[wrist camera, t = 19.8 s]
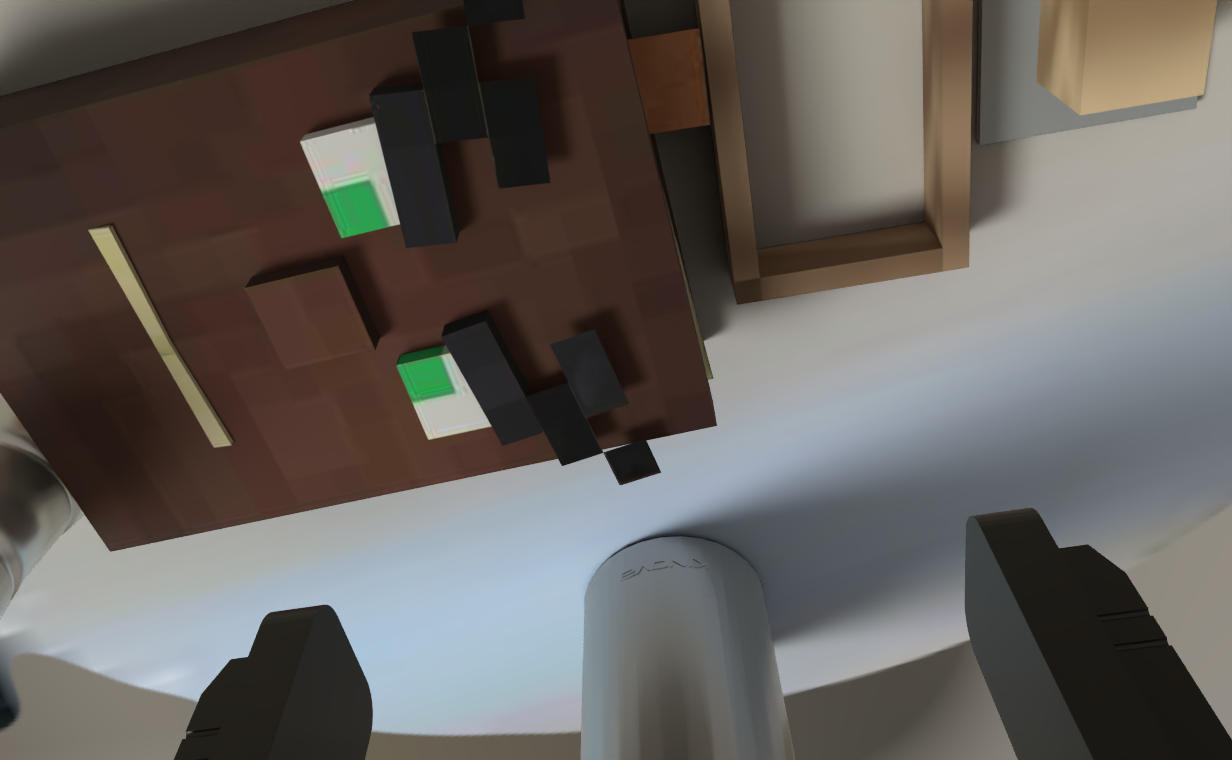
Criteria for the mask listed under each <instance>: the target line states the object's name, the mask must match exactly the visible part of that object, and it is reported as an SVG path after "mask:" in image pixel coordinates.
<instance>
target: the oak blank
mask: <svg viewBox="0 0 1232 760" xmlns="http://www.w3.org/2000/svg"><path fill="white" fill-rule="evenodd" d="M1216 6H1217V0H1041V5H1040V24H1039V42H1038V61H1037V80H1036V82H1038V83H1039V84H1040V85H1041V86H1043V87H1044V88H1045V89H1047V90H1048V91H1049V92H1051V93H1052V94H1053V95H1054V96H1056V97H1057V98H1058V99H1060V100H1061V101H1062V102H1064V103H1065V104H1066V105H1067V106H1069V107H1070V108H1071V109H1073V110H1074V111H1075V112H1076V113H1078V114H1079V115H1086V114H1092V113H1098V112H1104V111H1110V110H1116V109H1122V108H1128V107H1134V106H1140V105H1145V104H1151V103H1157V102H1163V101H1169V100H1175V99H1181V98H1187V97H1193V96H1199V95H1204V89H1205V82H1206V75H1207V68H1208V61H1209V54H1210V47H1211V40H1212V33H1213V26H1214V19H1215V12H1216Z"/></svg>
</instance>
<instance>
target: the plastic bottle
mask: <svg viewBox="0 0 1232 760" xmlns="http://www.w3.org/2000/svg"><path fill="white" fill-rule="evenodd" d="M83 515H84V513H83V512H82V510H81V509H80V507H79V506H78V504H77V503H76V501H75V500H74V499H73V497H72V496H71V494H70V493H69V491H68V490H67V489H66V487H65V486H64V484H63V483H62V481H61V480H60V478H59V477H58V476H57V474H56V473H55V471H54V470H53V468H52V467H51V465H50V464H49V463H48V461H47V460H46V458H45V457H44V455H43V454H42V453H41V451H40V450H39V448H38V447H37V445H36V444H35V442H34V441H33V440H32V438H31V437H30V435H29V434H28V432H27V431H26V430H25V428H24V427H23V425H22V424H21V422H20V421H19V419H18V418H17V417H16V415H15V414H14V412H13V411H12V409H11V408H10V406H9V405H8V404H7V402H6V401H5V399H4V398H3V396H2V395H1V394H0V619H1V617H2V615H3V614H4V612H5V610H6V609H7V607H8V605H9V604H10V601H11V600H12V598H13V597H14V595H15V594H16V592H17V590H18V588H19V587H20V585H21V583H22V582H23V580H24V579H25V578H26V577H27V576H28V574H29V573H30V572H31V571H32V570H33V568H34V567H35V566H36V565H37V564H38V562H39V561H40V560H41V559H42V558H43V556H44V555H45V554H46V553H47V552H48V550H49V549H50V548H51V547H52V546H53V544H54V543H55V542H56V541H57V540H58V538H59V537H60V536H61V535H62V534H64V533H65V532H66V531H67V530H68V529H69V528H71V527H72V526H73V525H74V524H75V523H76V522H77V521H78V520H80V519H81V518H82V516H83Z"/></svg>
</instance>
